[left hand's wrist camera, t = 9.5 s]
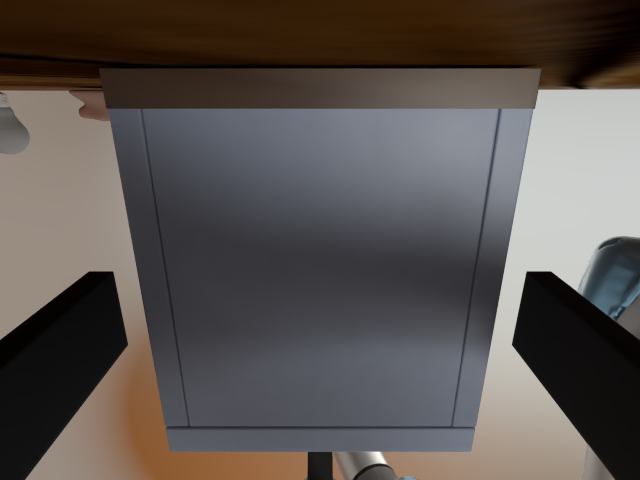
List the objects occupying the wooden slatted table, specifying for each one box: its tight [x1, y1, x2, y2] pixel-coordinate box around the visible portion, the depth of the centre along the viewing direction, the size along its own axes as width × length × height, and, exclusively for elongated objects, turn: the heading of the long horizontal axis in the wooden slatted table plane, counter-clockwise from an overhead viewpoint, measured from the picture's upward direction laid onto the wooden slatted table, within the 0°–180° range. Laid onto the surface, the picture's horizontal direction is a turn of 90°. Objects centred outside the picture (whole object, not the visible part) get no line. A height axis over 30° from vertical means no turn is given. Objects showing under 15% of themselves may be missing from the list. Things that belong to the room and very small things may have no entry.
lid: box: [166, 424, 475, 452], centre depth 22 cm, size 18×10×8 cm, turn 0°
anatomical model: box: [69, 90, 110, 121], centre depth 42 cm, size 13×4×12 cm
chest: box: [99, 68, 542, 427], centre depth 18 cm, size 17×10×10 cm, turn 0°
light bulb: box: [0, 92, 30, 154], centre depth 65 cm, size 6×6×10 cm
